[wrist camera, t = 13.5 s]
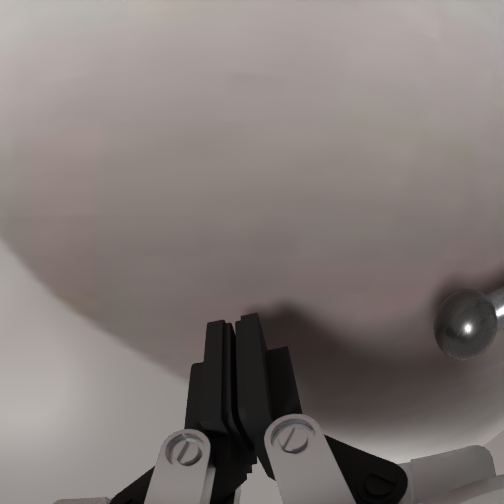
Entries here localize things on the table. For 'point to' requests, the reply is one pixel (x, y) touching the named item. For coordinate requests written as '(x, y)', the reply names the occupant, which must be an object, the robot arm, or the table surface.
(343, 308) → the table surface
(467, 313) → the jaw
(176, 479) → the robot arm
